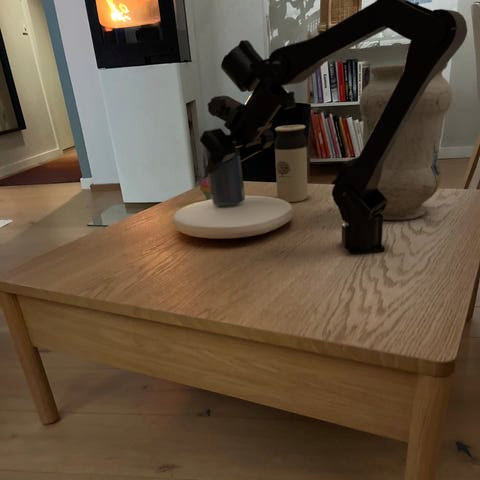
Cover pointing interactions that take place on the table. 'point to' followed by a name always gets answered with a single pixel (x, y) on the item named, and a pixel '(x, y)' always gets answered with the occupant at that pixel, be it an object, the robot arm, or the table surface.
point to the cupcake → (206, 188)
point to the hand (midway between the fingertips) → (219, 168)
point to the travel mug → (291, 163)
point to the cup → (227, 181)
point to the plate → (233, 217)
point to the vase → (408, 142)
